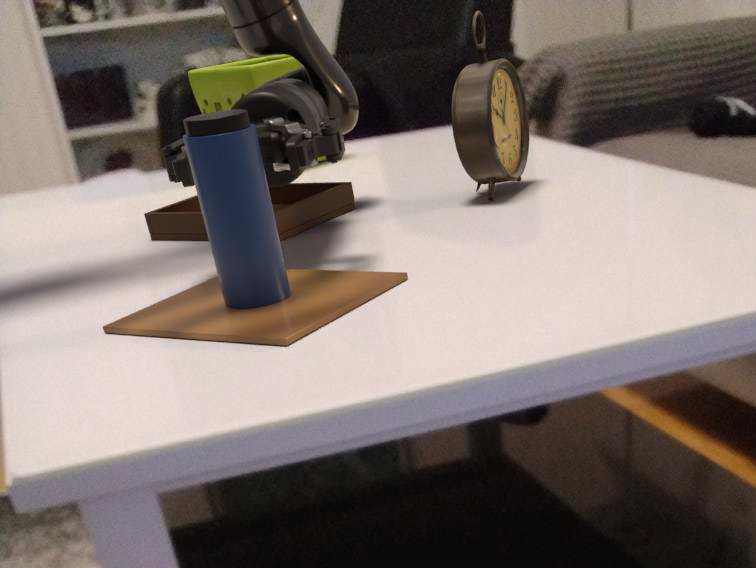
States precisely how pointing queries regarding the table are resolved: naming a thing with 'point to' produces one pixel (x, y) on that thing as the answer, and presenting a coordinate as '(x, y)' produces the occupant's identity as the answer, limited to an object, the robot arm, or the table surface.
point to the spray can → (236, 208)
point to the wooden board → (258, 309)
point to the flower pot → (237, 80)
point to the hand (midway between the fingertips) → (238, 165)
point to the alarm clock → (490, 119)
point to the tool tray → (290, 205)
